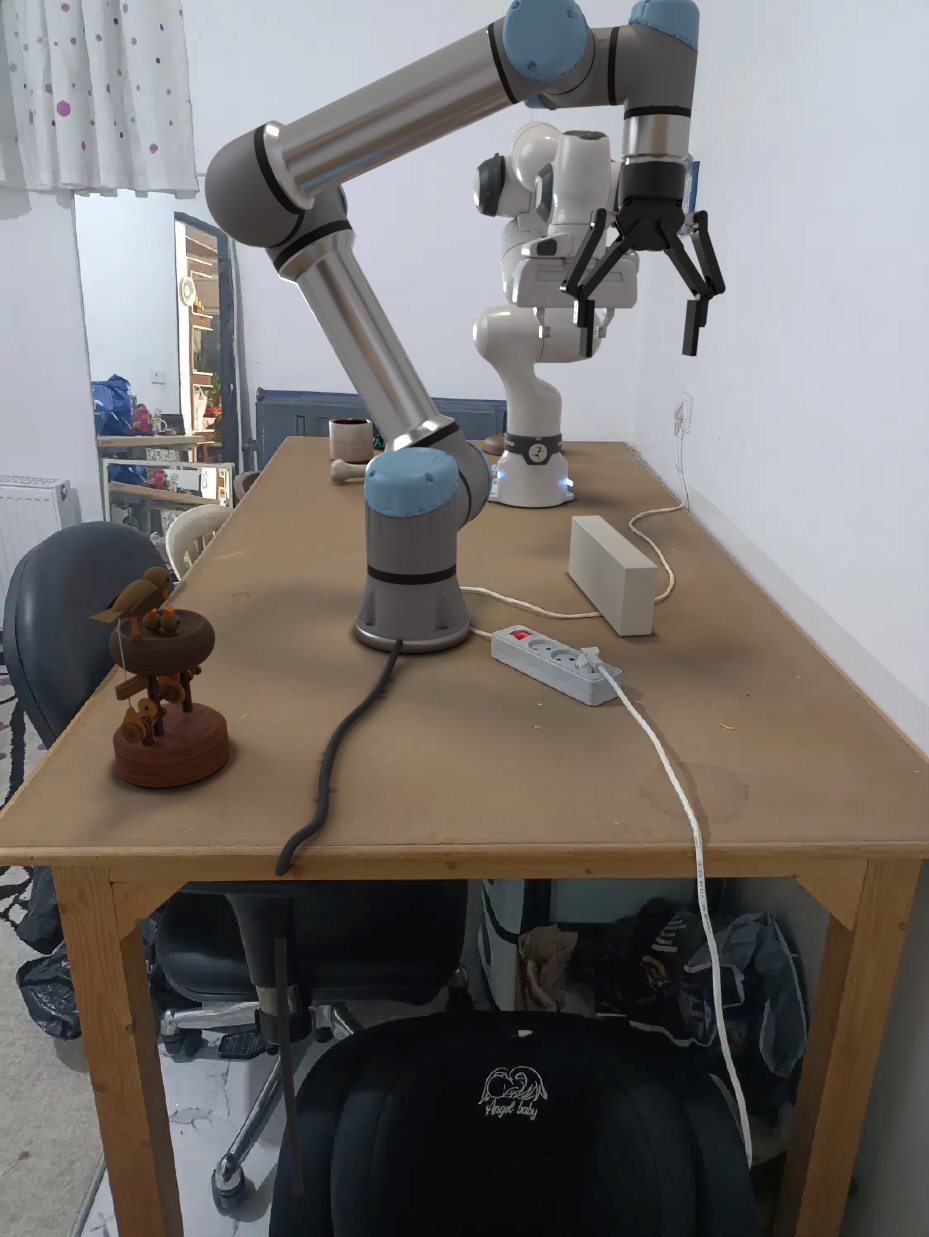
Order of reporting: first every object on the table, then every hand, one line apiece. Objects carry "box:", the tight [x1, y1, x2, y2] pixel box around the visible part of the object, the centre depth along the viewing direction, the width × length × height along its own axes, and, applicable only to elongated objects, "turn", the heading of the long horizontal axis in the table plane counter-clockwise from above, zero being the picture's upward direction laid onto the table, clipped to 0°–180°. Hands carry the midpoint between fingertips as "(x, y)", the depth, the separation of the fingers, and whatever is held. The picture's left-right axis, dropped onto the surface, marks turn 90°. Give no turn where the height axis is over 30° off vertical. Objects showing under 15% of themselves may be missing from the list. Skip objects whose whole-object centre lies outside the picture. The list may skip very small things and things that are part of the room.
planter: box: [328, 417, 375, 464], centre depth 212 cm, size 11×11×10 cm
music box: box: [88, 566, 230, 788], centre depth 80 cm, size 15×11×20 cm
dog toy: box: [329, 459, 368, 483], centre depth 191 cm, size 20×6×5 cm, turn 99°
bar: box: [568, 515, 659, 637], centre depth 123 cm, size 25×4×10 cm, turn 9°
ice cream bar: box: [483, 432, 562, 457], centre depth 222 cm, size 21×28×4 cm
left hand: (637, 356), depth 105 cm, fingers open, 13 cm apart
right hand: (572, 337), depth 139 cm, fingers open, 8 cm apart
